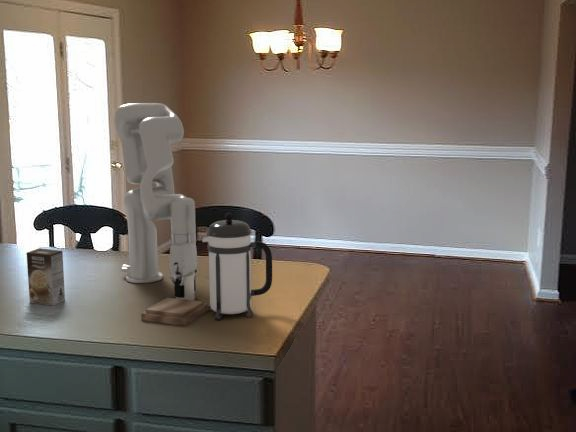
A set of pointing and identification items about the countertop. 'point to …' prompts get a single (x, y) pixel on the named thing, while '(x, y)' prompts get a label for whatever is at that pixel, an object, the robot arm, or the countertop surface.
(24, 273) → the countertop surface
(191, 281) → the canister
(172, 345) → the countertop surface
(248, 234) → the coffee press
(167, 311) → the plinth
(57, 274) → the coffee box
